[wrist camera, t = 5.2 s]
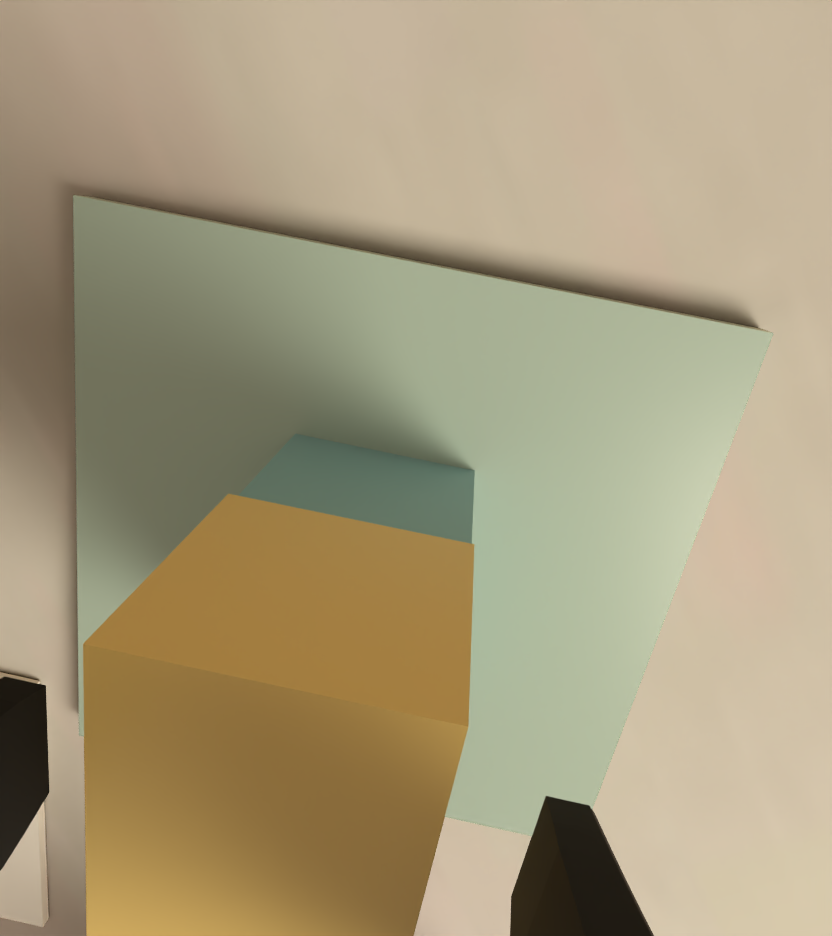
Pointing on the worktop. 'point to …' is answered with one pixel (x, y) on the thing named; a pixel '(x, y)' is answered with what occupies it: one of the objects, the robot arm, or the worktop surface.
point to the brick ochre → (276, 728)
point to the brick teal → (369, 487)
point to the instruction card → (26, 871)
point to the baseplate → (414, 450)
